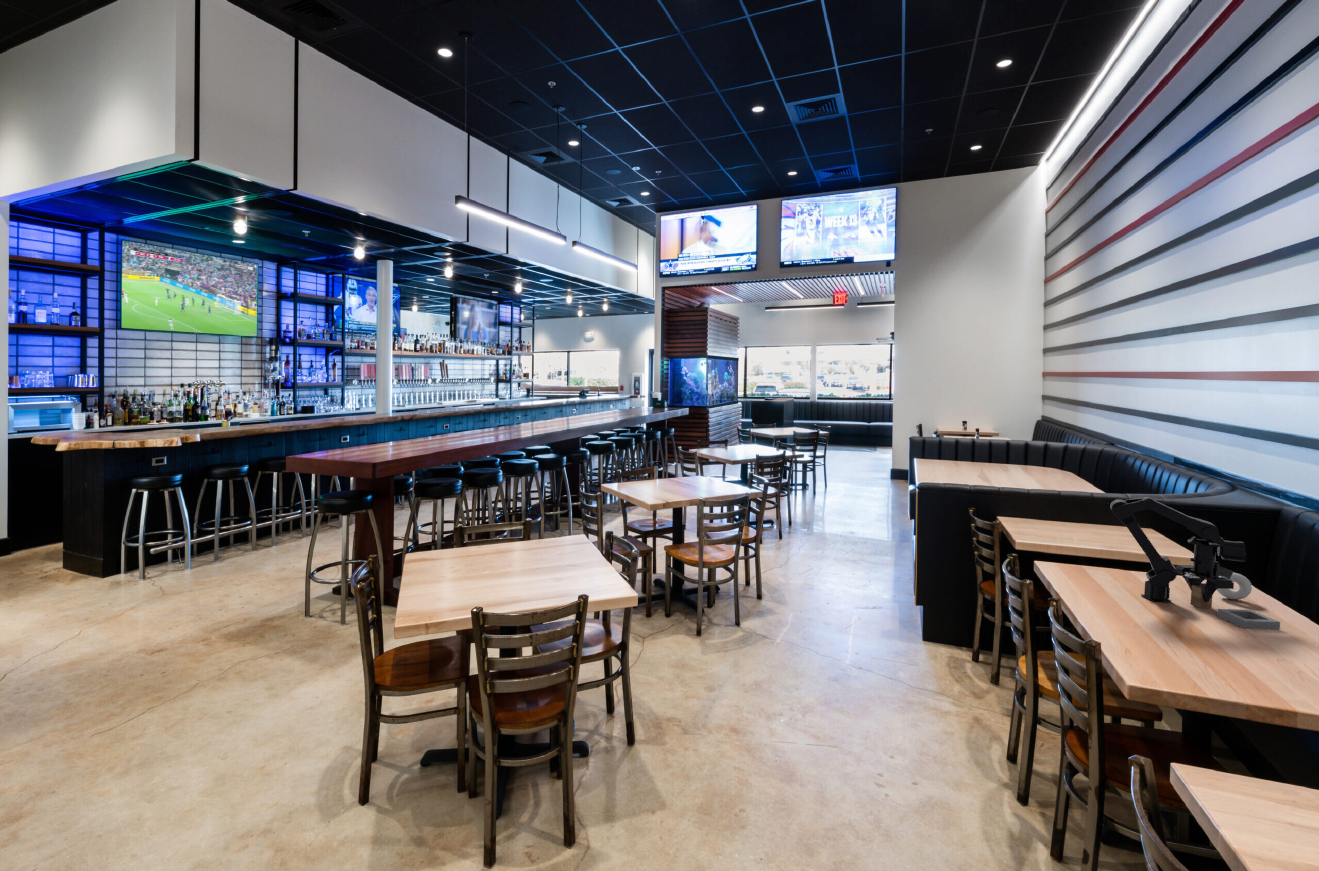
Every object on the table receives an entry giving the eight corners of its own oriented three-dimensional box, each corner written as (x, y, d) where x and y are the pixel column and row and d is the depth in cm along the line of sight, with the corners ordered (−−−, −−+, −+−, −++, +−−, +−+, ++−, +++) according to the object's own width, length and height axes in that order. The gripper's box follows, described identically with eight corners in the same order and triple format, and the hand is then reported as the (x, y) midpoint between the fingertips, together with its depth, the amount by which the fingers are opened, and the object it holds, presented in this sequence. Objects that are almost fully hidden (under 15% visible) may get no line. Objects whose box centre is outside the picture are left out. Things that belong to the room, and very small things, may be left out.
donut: (1214, 598, 223) (1216, 571, 222) (1213, 595, 226) (1215, 569, 225) (1252, 603, 217) (1254, 576, 216) (1249, 600, 220) (1251, 574, 219)
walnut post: (1199, 607, 213) (1200, 588, 212) (1190, 603, 217) (1191, 584, 216) (1211, 608, 213) (1212, 588, 212) (1202, 604, 217) (1203, 585, 216)
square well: (1244, 628, 195) (1245, 621, 195) (1217, 616, 205) (1217, 609, 205) (1279, 629, 194) (1280, 622, 194) (1250, 616, 205) (1250, 609, 204)
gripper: (1252, 565, 203) (1248, 610, 205) (1206, 550, 222) (1203, 591, 223) (1217, 564, 204) (1214, 609, 206) (1174, 549, 223) (1172, 590, 224)
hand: (1201, 599), depth 215 cm, fingers closed on walnut post, 4 cm apart
